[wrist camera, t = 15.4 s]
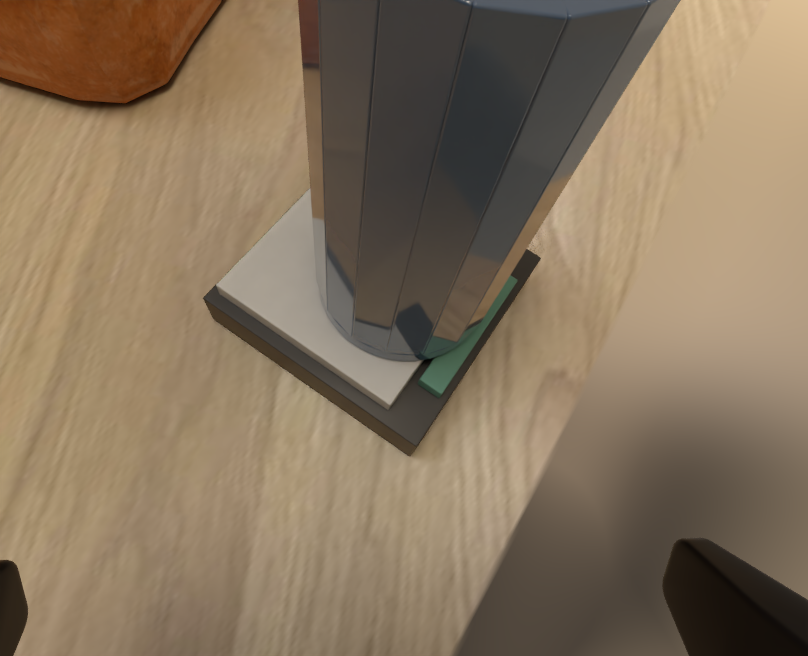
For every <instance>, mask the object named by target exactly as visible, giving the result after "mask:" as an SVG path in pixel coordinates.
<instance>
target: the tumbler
mask: <svg viewBox="0 0 808 656" xmlns="http://www.w3.org/2000/svg"><path fill="white" fill-rule="evenodd" d="M679 2H680V0H298V5H299V21H300V36H301V52H302V67H303V83H304V98H305V114H306V129H307V145H308V161H309V176H310V192H311V207H312V223H313V238H314V254H315V269H316V282H317V284H318V289H319V296H320V299H321V303H322V306H323V308H324V310H325V313H326V315H327V316H328V318H329V320H330V321H331V323H332V324H333V325H334V327H335V328H336V329H337V330H338V332H339V333H340V334H342V335H343V336H344V337H345V338H346V339H347V340H348V341H349V342H351V343H352V344H354V345H355V346H356V347H358V348H360V349H362V350H364V351H366V352H367V353H370V354H372V355H375V356H378V357H381V358H385V359H389V360H396V361H420V360H427V359H430V358H434V357H438V356H440V355H442V354H445V353H447V352H449V351H451V350H452V349H454V348H456V347H457V346H459V345H460V344H461V343H462V342H464V341H465V340H466V339H467V338H468V337H469V336H470V335H471V334H472V332H473V331H474V330H475V328H476V327H477V326H478V325H479V324H480V323H481V321H482V320H483V318H484V317H485V315H486V314H487V312H488V310H489V309H490V307H491V305H492V304H493V302H494V301H495V299H496V297H497V296H498V294H499V293H500V291H501V289H502V288H503V286H504V284H505V283H506V281H507V280H508V278H509V276H510V275H511V273H512V272H513V270H514V268H515V267H516V265H517V263H518V262H519V260H520V259H521V257H522V255H523V254H524V252H525V251H526V249H527V247H528V246H529V244H530V242H531V241H532V239H533V238H534V236H535V234H536V233H537V231H538V230H539V228H540V226H541V225H542V223H543V221H544V220H545V218H546V217H547V215H548V213H549V212H550V210H551V209H552V207H553V205H554V204H555V202H556V200H557V199H558V197H559V196H560V194H561V192H562V191H563V189H564V188H565V186H566V184H567V183H568V181H569V179H570V178H571V176H572V175H573V173H574V171H575V170H576V168H577V167H578V165H579V163H580V162H581V160H582V158H583V157H584V155H585V154H586V152H587V150H588V149H589V147H590V146H591V144H592V142H593V141H594V139H595V137H596V136H597V134H598V133H599V131H600V129H601V128H602V126H603V125H604V123H605V121H606V120H607V118H608V117H609V115H610V113H611V112H612V110H613V108H614V107H615V105H616V104H617V102H618V100H619V99H620V97H621V96H622V94H623V92H624V91H625V89H626V87H627V86H628V84H629V83H630V81H631V79H632V78H633V76H634V75H635V73H636V71H637V70H638V68H639V66H640V65H641V63H642V62H643V60H644V58H645V57H646V55H647V54H648V52H649V50H650V49H651V47H652V45H653V44H654V42H655V41H656V39H657V37H658V36H659V34H660V33H661V31H662V29H663V28H664V26H665V24H666V23H667V21H668V20H669V18H670V16H671V15H672V13H673V12H674V10H675V8H676V7H677V5H678V3H679Z"/></svg>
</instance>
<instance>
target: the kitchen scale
mask: <svg viewBox="0 0 808 656" xmlns="http://www.w3.org/2000/svg"><path fill="white" fill-rule="evenodd" d="M540 259H541V258H540V257H539V256H537V255H536V254H534V253H532V252H531V251H529V250H528V249H526V251H525V252H524V254H523V255H522V257H521V259H520V260H519V262H518V263H517V265H516V267H515V268H514V270H513V272H512V273H511V275H510V276H509V278H508V280H507V281H506V283H505V284H504V286H503V288H502V289H501V291H500V293H499V294H498V296H497V297H496V299H495V301H494V302H493V304H492V305H491V307H490V309H489V310H488V312H487V314H486V315H485V317H484V318H483V320H482V321H481V323H480V324H479V325H478V326H477V327H476V328H475V330H474V331H473V332H472V334H471V335H470V336H469V337H468V338H467V339H466V340H465V341H464V342H462V343H461V344H460V345H459V346H457V347H456V348H454V349H452V350H451V351H449V352H447V353H445V354H442V355H440V356H438V357H434V358H430V359H427V360H420V361H396V360H389V359H385V358H381V357H378V356H375V355H372V354H370V353H367V352H366V351H364V350H362V349H360V348H358V347H356V346H355V345H354V344H352V343H351V342H349V341H348V340H347V339H346V338H345V337H344V336H343V335H342V334H340V333H339V332H338V330H337V329H336V328H335V327H334V325H333V324H332V323H331V321H330V320H329V318H328V316H327V315H326V313H325V310H324V308H323V306H322V303H321V299H320V296H319V289H318V284H317V282H316V269H315V254H314V238H313V223H312V207H311V192H310V188H309V189H308V190H307V191H306V192H305V193H304V194H303V195H302V196H301V198H300V199H299V200H298V201H297V202H296V203H295V204H294V205H293V206H292V207H291V208H290V209H289V210H288V211H287V212H286V213H285V214H284V215H283V216H282V217H281V218H280V219H279V220H278V221H277V222H276V223H275V224H274V225H273V226H272V227H271V228H270V229H269V230H268V232H267V233H266V234H265V235H264V236H263V237H262V238H261V239H260V240H259V241H258V242H257V243H256V244H255V245H254V246H253V247H252V248H251V249H250V250H249V251H248V252H247V253H246V254H245V255H244V256H243V257H242V258H241V259H240V260H239V261H238V262H237V263H236V265H235V266H234V267H233V268H232V269H231V270H230V271H229V272H228V273H227V274H226V275H225V276H224V277H223V278H222V279H221V280H220V281H219V282H218V283H217V284H216V285H215V286H214V287H213V288H212V289H211V290H210V291H209V292H208V293H207V294H206V295H205V296H204V298H203V299H204V301H205V303H206V305H207V307H208V309H209V311H210V313H211V315H212V317H213V319H214V320H216V321H217V322H219V323H220V324H221V325H223V326H224V327H226V328H227V329H228V330H230V331H231V332H233V333H234V334H236V335H237V336H238V337H240V338H241V339H243V340H244V341H246V342H247V343H248V344H250V345H251V346H253V347H254V348H256V349H257V350H258V351H260V352H261V353H263V354H264V355H266V356H267V357H268V358H270V359H271V360H273V361H274V362H276V363H277V364H278V365H280V366H281V367H283V368H284V369H286V370H287V371H288V372H290V373H291V374H293V375H294V376H296V377H297V378H298V379H300V380H301V381H303V382H304V383H306V384H307V385H308V386H310V387H311V388H313V389H314V390H316V391H317V392H318V393H320V394H321V395H323V396H324V397H326V398H327V399H328V400H330V401H331V402H333V403H334V404H336V405H337V406H338V407H340V408H341V409H343V410H344V411H346V412H347V413H348V414H350V415H351V416H353V417H354V418H356V419H357V420H358V421H360V422H361V423H363V424H364V425H366V426H367V427H368V428H370V429H371V430H373V431H374V432H376V433H377V434H378V435H380V436H381V437H383V438H384V439H386V440H387V441H388V442H390V443H391V444H393V445H394V446H395V447H397V448H398V449H400V450H401V451H403V452H404V453H405V454H407V455H408V456H411V454H412V453H413V452H414V450H415V449H416V447H417V446H418V445H419V443H420V442H421V440H422V439H423V437H424V435H425V434H426V432H427V431H428V429H429V428H430V426H431V425H432V423H433V422H434V420H435V419H436V417H437V416H438V414H439V413H440V411H441V410H442V408H443V407H444V405H445V404H446V402H447V400H448V399H449V397H450V396H451V394H452V393H453V391H454V390H455V388H456V387H457V385H458V384H459V382H460V381H461V379H462V378H463V376H464V375H465V373H466V372H467V370H468V369H469V367H470V366H471V364H472V362H473V361H474V359H475V358H476V356H477V355H478V353H479V352H480V350H481V349H482V347H483V346H484V344H485V343H486V341H487V340H488V338H489V337H490V335H491V334H492V332H493V331H494V329H495V328H496V326H497V324H498V323H499V321H500V320H501V318H502V317H503V315H504V314H505V312H506V311H507V309H508V308H509V306H510V305H511V303H512V302H513V300H514V299H515V297H516V296H517V294H518V293H519V291H520V290H521V288H522V286H523V285H524V283H525V282H526V280H527V279H528V277H529V276H530V274H531V273H532V271H533V270H534V268H535V267H536V265H537V264H538V262H539V261H540Z"/></svg>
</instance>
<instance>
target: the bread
mask: <svg viewBox="0 0 808 656" xmlns="http://www.w3.org/2000/svg"><path fill="white" fill-rule="evenodd" d="M221 1H222V0H0V77H2V78H5V79H8V80H12V81H15V82H19V83H22V84H25V85H29V86H32V87H35V88H39V89H42V90H46V91H49V92H52V93H56V94H59V95H62V96H66V97H69V98H73V99H76V100H85V101H100V102H116V103H127V102H129V101H131V100H133V99H135V98H137V97H139V96H141V95H144V94H146V93H148V92H150V91H152V90H154V89H156V88H158V87H160V86H163V85H165V84H167V83H168V81H169V80H170V78H171V77H172V75H173V73H174V72H175V70H176V69H177V67H178V65H179V64H180V62H181V61H182V59H183V57H184V56H185V54H186V53H187V51H188V49H189V48H190V46H191V45H192V43H193V41H194V40H195V38H196V37H197V36H198V34H199V33H200V31H201V30H202V28H203V27H204V26H205V24H206V23H207V21H208V20H209V18H210V17H211V16H212V14H213V13H214V11H215V10H216V8H217V7H218V6H219V4H220V3H221Z"/></svg>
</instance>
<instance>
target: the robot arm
mask: <svg viewBox="0 0 808 656" xmlns="http://www.w3.org/2000/svg"><path fill="white" fill-rule="evenodd" d="M662 587H663V593H664V597H665V600H666V602H667V605H668V607H669V609H670V612H671V614H672V617H673V619H674V621H675V624H676V626H677V629H678V631H679V633H680V636H681V638H682V640H683V643H684V645H685V647H686V650H687V652H688V654H689V656H808V600H807V599H806V598H804V597H802V596H801V595H799V594H797V593H796V592H794V591H792V590H791V589H789V588H787V587H786V586H784V585H783V584H781V583H779V582H777V581H776V580H774V579H773V578H771V577H769V576H768V575H766V574H764V573H763V572H761V571H759V570H758V569H756V568H755V567H753V566H751V565H749V564H748V563H746V562H745V561H743V560H741V559H740V558H738V557H736V556H735V555H733V554H731V553H730V552H728V551H726V550H725V549H723V548H722V547H720V546H718V545H717V544H715V543H713V542H712V541H709V540H708V539H704V538H687V539H686V538H683V539H679V540H677V541H676V543H674V545H673V548H672V551H671V555H670V558H669V561H668V564H667V567H666V571H665V574H664V577H663V585H662ZM27 616H28V606H27V601H26V598H25V594H24V590H23V586H22V582H21V578H20V575H19V571H18V568H17V565H16V564H15V563H14V562H13V561H9V560H0V656H13V655H14V653H15V650H16V648H17V645H18V643H19V641H20V638H21V636H22V633H23V631H24V628H25V625H26V622H27Z"/></svg>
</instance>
